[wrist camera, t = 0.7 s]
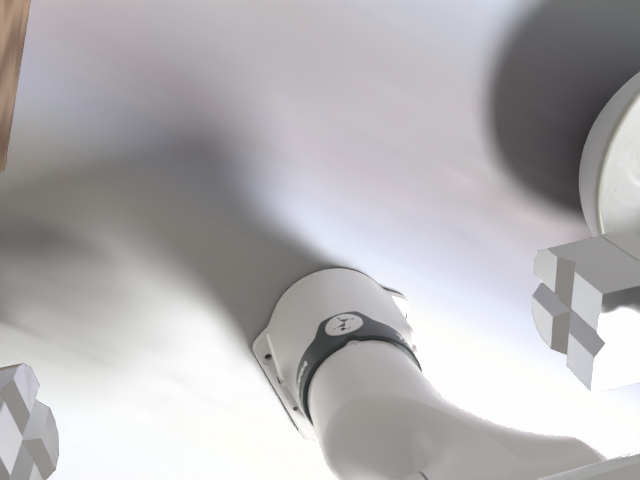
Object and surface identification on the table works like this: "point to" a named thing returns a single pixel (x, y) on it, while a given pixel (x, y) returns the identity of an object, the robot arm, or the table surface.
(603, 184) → the decorative bowl
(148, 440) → the table surface
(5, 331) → the table surface
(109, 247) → the table surface
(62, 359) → the table surface
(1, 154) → the cabinet
